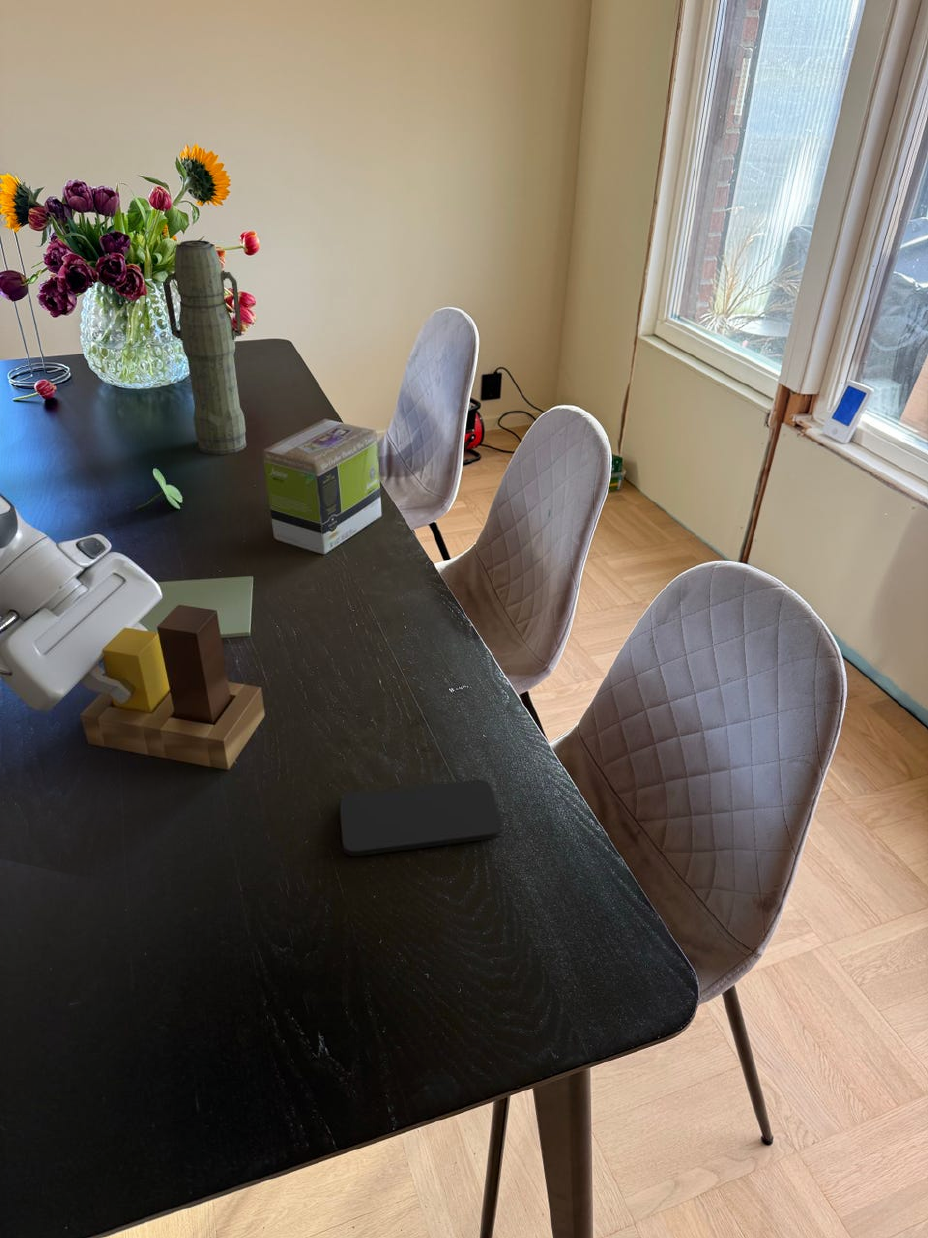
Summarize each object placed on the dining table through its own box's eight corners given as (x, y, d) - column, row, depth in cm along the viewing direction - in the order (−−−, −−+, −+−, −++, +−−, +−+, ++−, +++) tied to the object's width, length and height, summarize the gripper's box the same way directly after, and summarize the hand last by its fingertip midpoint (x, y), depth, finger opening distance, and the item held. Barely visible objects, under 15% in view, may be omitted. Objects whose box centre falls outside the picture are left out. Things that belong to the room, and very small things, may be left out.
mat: (99, 647, 104) (98, 643, 104) (117, 588, 116) (116, 584, 116) (250, 636, 107) (249, 632, 107) (253, 579, 119) (252, 575, 119)
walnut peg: (181, 744, 90) (156, 626, 82) (199, 719, 94) (178, 604, 86) (217, 751, 90) (196, 633, 81) (235, 725, 93) (216, 610, 85)
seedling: (160, 533, 140) (192, 510, 139) (136, 524, 132) (170, 500, 132) (138, 497, 141) (170, 475, 140) (112, 487, 133) (146, 462, 132)
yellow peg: (121, 732, 92) (99, 649, 85) (142, 708, 95) (122, 626, 89) (156, 739, 91) (137, 655, 85) (176, 714, 94) (159, 632, 88)
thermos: (187, 439, 161) (155, 238, 141) (251, 434, 164) (228, 236, 145) (190, 457, 154) (157, 248, 134) (257, 451, 157) (234, 246, 138)
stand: (88, 744, 90) (79, 714, 88) (134, 692, 97) (127, 664, 95) (228, 770, 87) (223, 741, 85) (265, 715, 95) (261, 687, 92)
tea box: (332, 503, 140) (326, 415, 131) (382, 518, 136) (380, 428, 127) (271, 539, 129) (260, 447, 120) (324, 557, 125) (317, 462, 116)
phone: (338, 795, 84) (488, 777, 86) (339, 801, 84) (488, 783, 86) (343, 853, 77) (504, 832, 80) (343, 859, 78) (504, 839, 80)
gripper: (-20, 629, 76) (102, 731, 79) (110, 526, 92) (206, 615, 96) (-48, 662, 79) (71, 759, 83) (82, 557, 96) (176, 641, 99)
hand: (144, 680), depth 90 cm, fingers closed on yellow peg, 4 cm apart
